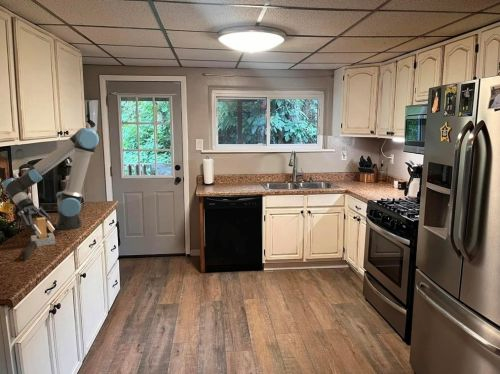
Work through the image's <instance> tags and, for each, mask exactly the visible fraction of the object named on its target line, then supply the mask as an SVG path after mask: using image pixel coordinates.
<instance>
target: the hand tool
mask: <svg viewBox="0 0 500 374" xmlns="http://www.w3.org/2000/svg"><path fill="white" fill-rule="evenodd" d="M37 247H38V246H37V244H36V243H35V242H28V244H27V246H25V249H23V250H22V258H23V261H27V260H28V259H29V258H30V256H31V254H32V253H33V251H34V250H36V249H37Z"/></svg>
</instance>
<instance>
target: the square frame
mask: <svg viewBox="0 0 500 374" xmlns="http://www.w3.org/2000/svg"><path fill="white" fill-rule="evenodd" d="M30 240H31V242H35V243H36V244H37V247H43V246H49V245H55V244H56V236H55V235H54V232H49V233H48V232H47V238H40V239H39V238H38V236H37V234H34V235H30Z"/></svg>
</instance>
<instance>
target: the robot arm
mask: <svg viewBox="0 0 500 374" xmlns="http://www.w3.org/2000/svg"><path fill="white" fill-rule="evenodd" d="M99 142H100V138H99V135H98V133H97V132H96V131H95V130H94V129H92V128H88V127H85V128H80V129H78V130H77V131H76V132H75V133H74V134H73V135H72V136H70V137H69V138H68V141H66V142H65V143H63V144H62V145H60V146H59V147H58V148H56V149H55V150H53V151H52V152H51V153H49V154H48V155H47V156H45V157H43V158H42V159H41V160H39V161H38V162H36V163H35V164H34V165H33V166H31V167H30V168H28V169H26V170H24V171H23V173H22V175H21V176H19V177H18V178H14V177H10V178H7V179H5V180H4V181H3V182H2V187H3V189H4V191H5V192H6V194H7V195H8V196H9V198H10V199H11V200H12V201H13V203H14V204H15V205H16V207H17V209H19V211H17V216H18V217H19V218H20V220H21V222H22V224H23V226H24V227H25V228H28V229H31V231H32V232H33V233H35V235H37V236H38V237H39V236H40V235H41V234H42V233H41V232H40V230H39V229H38V227H37V225H36V224H34V223H33V217H32V216H34V217H36V218H42V217H45V219H46V228H48V230H49V231H50V233H54V231H55V229H57V230H73V229H78V228H81V227H82V226H83V221H82V218H81V217H80V216H81V215H79V213H80V211H81V208H82V199H83V194H82V189H83V185H84V182H85V178H86V174H87V170H88V167H89V163H90V160H91V156H92V155H93V154H95V151H96V148H97V146H98V144H99ZM73 154H74V157H73V161H72V164H71V168H70V171H69V172H70V173H69V175H68V179H67V183H66V187H65V188H64V189H63V190H62V191H58V192H56V196H55V197H56V203H57V204H56V205H57V214H58V215H57V220H56V224H55V226H56V228H55V227H54V226H53V223H52V222H51V220H52V217H51V216H50V215H49V214H48V213H47V212H46V211H45V209H43V207H42V205H41V206H35V204H34V202H33V201H32V199H31V198H30V196H29V195H28V193H26V190H28V189H29V188H31V187H32V186H34V185H36V184H37V183H39V182H41V181H42V180H43V175H45V174H46V173H48V172H49V171H50V170H52V169H54V167H56V166H58V165H59V164H61V162H63V161H64V160H66V159H67V158H68V157H70V156H72V155H73Z"/></svg>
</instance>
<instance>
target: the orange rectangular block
mask: <svg viewBox="0 0 500 374" xmlns="http://www.w3.org/2000/svg"><path fill="white" fill-rule="evenodd" d="M36 223H37V225H36V226H37V228H38V229H39V230H40V232H41V233H42V234H41V235H40V236H39V237H38V238H39V239H40V238H47V233H48V232H47V226H46V219H45V217H42V218H38V217H36Z"/></svg>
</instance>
